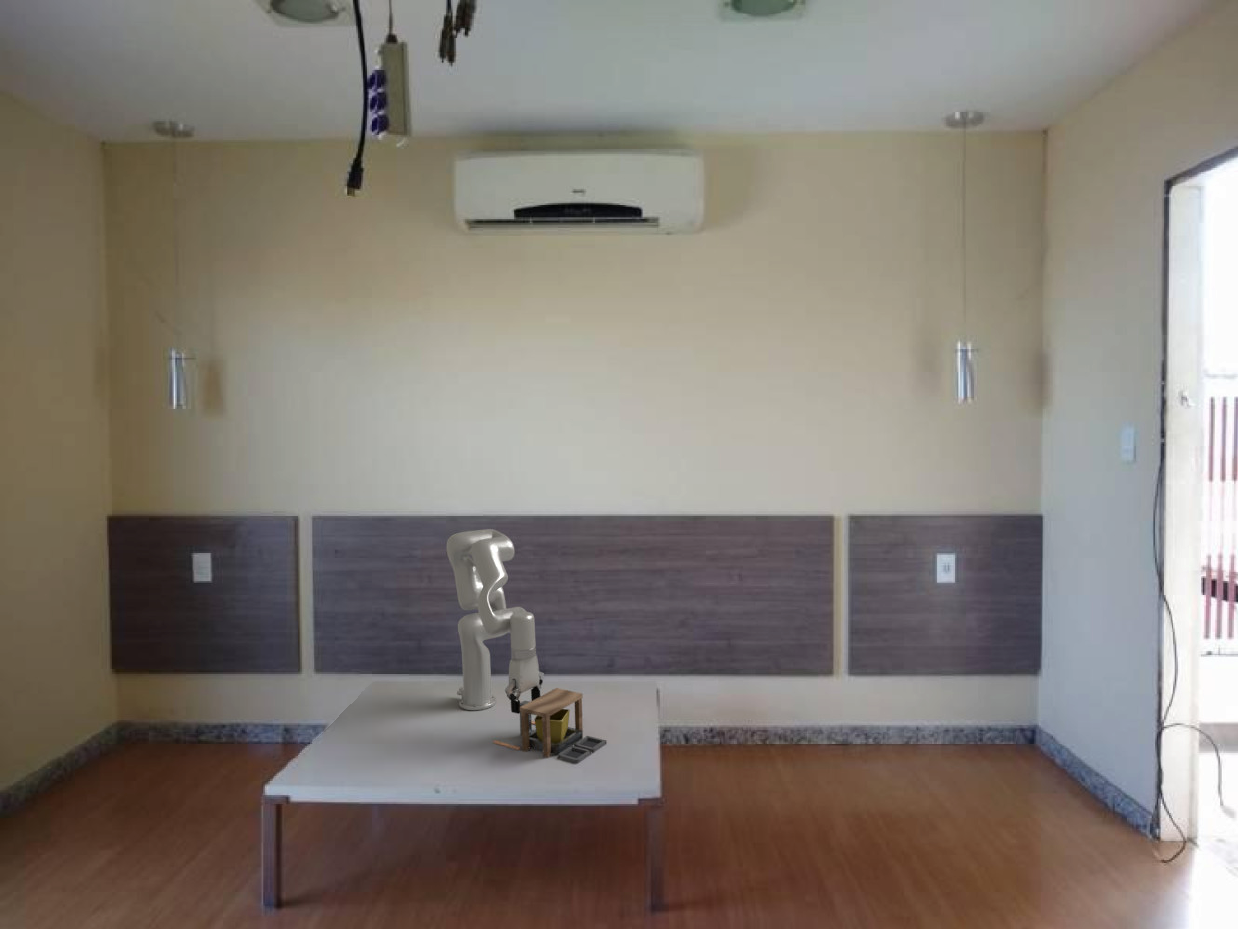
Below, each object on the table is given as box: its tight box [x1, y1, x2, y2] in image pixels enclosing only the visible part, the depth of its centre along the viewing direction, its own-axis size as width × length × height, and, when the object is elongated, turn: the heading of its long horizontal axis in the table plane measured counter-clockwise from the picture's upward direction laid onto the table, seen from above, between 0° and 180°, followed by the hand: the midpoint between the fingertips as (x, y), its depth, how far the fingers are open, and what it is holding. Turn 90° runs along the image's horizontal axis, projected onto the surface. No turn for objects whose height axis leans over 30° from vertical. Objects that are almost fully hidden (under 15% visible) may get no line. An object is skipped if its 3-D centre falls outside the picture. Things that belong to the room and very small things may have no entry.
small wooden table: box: [520, 687, 584, 758], centre depth 229 cm, size 10×18×13 cm, turn 147°
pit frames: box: [557, 735, 607, 765], centre depth 224 cm, size 7×15×1 cm, turn 147°
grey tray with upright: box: [519, 700, 584, 756], centre depth 231 cm, size 18×13×10 cm
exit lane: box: [492, 720, 535, 751], centre depth 235 cm, size 10×18×1 cm, turn 147°
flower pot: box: [533, 708, 570, 744], centre depth 229 cm, size 9×9×9 cm
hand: (526, 707), depth 234 cm, fingers open, 9 cm apart
